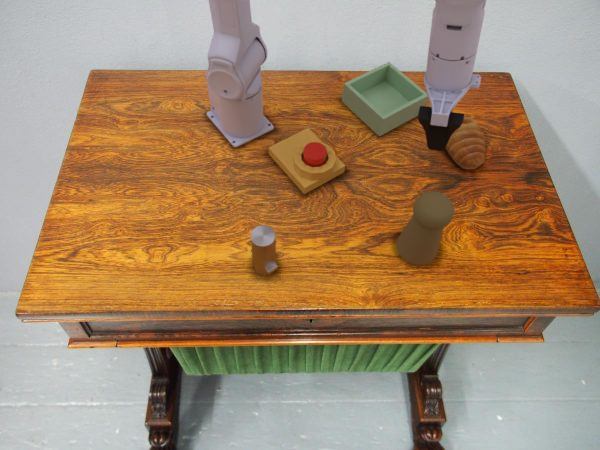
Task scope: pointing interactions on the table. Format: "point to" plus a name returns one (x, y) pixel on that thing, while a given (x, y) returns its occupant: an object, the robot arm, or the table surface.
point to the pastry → (467, 145)
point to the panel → (294, 166)
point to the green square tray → (384, 98)
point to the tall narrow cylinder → (263, 250)
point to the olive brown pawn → (425, 228)
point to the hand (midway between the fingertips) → (440, 129)
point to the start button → (314, 154)
